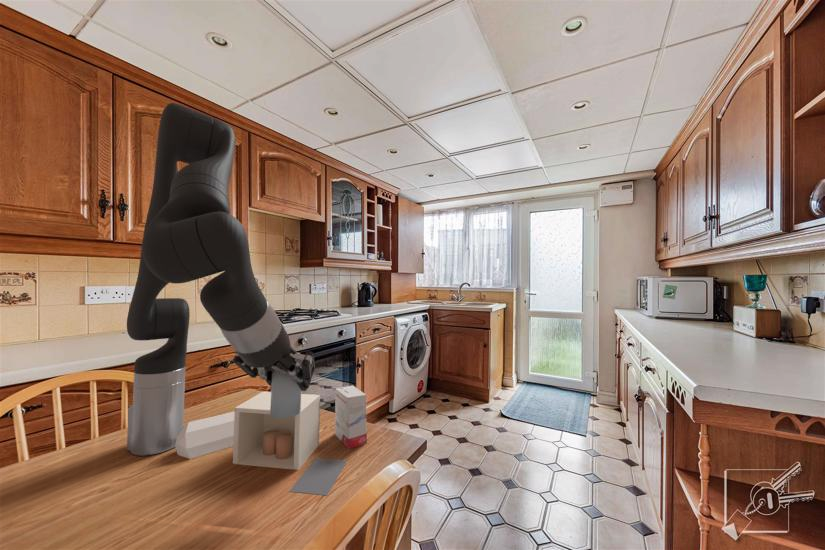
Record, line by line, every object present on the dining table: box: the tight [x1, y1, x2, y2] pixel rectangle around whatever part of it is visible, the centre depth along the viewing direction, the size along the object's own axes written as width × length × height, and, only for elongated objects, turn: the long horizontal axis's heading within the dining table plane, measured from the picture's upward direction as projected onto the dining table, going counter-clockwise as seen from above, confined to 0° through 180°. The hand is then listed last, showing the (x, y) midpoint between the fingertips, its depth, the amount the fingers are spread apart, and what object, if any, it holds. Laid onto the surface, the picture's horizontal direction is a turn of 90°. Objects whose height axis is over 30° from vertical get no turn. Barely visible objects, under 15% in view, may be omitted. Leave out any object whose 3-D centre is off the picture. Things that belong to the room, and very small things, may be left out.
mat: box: [288, 457, 348, 497], centre depth 62 cm, size 7×11×1 cm, turn 173°
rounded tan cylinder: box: [276, 433, 292, 459], centre depth 69 cm, size 3×3×4 cm
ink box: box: [334, 385, 368, 449], centre depth 77 cm, size 9×5×12 cm, turn 33°
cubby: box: [232, 391, 321, 471], centre depth 69 cm, size 14×10×12 cm
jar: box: [270, 351, 302, 418], centre depth 59 cm, size 5×5×11 cm
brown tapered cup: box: [263, 430, 280, 455], centre depth 70 cm, size 3×3×4 cm
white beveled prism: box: [174, 410, 235, 460], centre depth 76 cm, size 7×7×24 cm
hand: (291, 385), depth 61 cm, fingers closed on jar, 5 cm apart
